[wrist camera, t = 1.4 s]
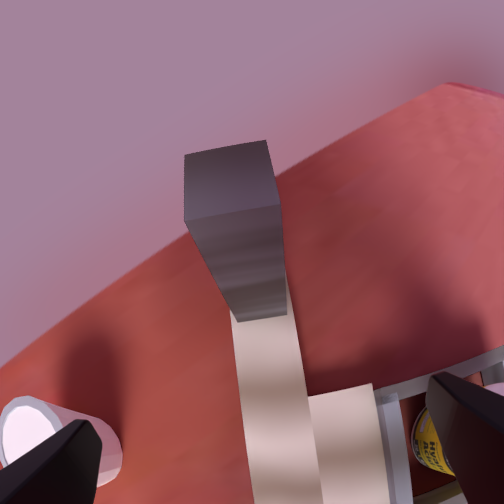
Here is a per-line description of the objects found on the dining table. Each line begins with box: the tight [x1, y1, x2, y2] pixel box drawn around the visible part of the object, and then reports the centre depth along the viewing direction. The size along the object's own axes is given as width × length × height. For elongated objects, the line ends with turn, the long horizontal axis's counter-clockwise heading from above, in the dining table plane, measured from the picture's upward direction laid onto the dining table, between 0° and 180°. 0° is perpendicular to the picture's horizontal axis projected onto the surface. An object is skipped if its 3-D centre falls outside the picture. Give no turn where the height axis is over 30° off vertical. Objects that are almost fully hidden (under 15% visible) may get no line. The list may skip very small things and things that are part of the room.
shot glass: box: [0, 396, 123, 487], centre depth 15 cm, size 7×7×7 cm
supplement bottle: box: [411, 383, 504, 476], centre depth 12 cm, size 5×5×10 cm
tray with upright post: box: [184, 140, 504, 504], centre depth 13 cm, size 19×18×13 cm
